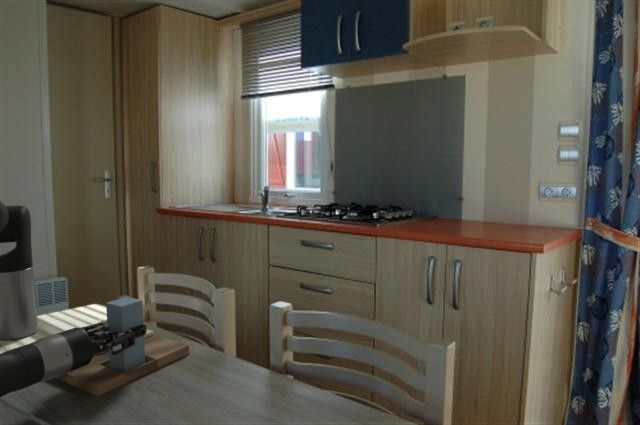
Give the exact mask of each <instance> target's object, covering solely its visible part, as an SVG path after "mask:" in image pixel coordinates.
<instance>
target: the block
mask: <svg viewBox="0 0 640 425" xmlns="http://www.w3.org/2000/svg"><path fill="white" fill-rule="evenodd" d="M105 305H106V308H105V309H106V323H107V326H108V331H111V330H116V329H117V330H119V331H123V330H127V329H130V328H133V327H136V326H139V325H142V324H144V310H143V307H144V306H143V299H138V298H134V297H132V298H130V297H125V298H121V299H118V300H117V299H114V300H111V301H108V302H106V303H105ZM124 335H125V334H124ZM121 336H123V335H121ZM121 336H120V337H121ZM113 339H115V334H114V335H113ZM109 361H110V369H113V370H116V371H119V372H122V373H125V372H127V371H129V370H131V369H134V368H136V367H138V366H140V365H143V364H145V345H144V335H143V336H141V337H138V338H135V345H133V346H131V347H130V348H128V349H126V350H124V351H122V352H120V353H119V354H117V355H112V351H111V350H109Z"/></svg>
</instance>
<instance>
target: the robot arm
mask: <svg viewBox="0 0 640 425" xmlns="http://www.w3.org/2000/svg"><path fill="white" fill-rule="evenodd" d="M31 219H32V218H31V214H30V210H29V209H28V207H27V206H25V205H5V203H3V202H2V201H1V200H0V244H4V243H16V244H15V247H14V248H12V249H11V250H10V251H8V252H6V253H3V254H1V255H0V340H8V341H9V340H15V339H16V340H17V339H21V338H25V337H28V336H29V337H30V336H31V335H33V334H36V333H37V332H38V330H39V327H38V315H37V303H36V302H37V299H36V289H35V288H36V287H35V277H34V276H35V275H34V266H33V265H34V264H33V252H32V249H33V248H32V220H31ZM104 324H105V325H104ZM146 329H147V325H146V324H144V323H143V324H142V325H139V326H136V327H133V328H130V329H127V330H123V331H119V330H117V329H116V330H111V331H108V326H107V324H106V323H104V322H99V323H94V324H90V325H86V326H83V327H79V326H78V327H73V328H69V329H66V330H63V331H60V332H57V333H53V334H50V335H47V336H44V337H41V338H39V339H36V340H35V341H32V342H30V343H27V344H24V345H21V346H17V347H15V348H11V349H9V350H6V351H3V352H1V353H0V398H3V397H4V396H7V394H10V393H14V392H18V391H20V390H23V389H26V388H28V387H29V388H30V387H31V386H34V385H36V384H39V383H42V382H46V381H49V380H52V379H55V378H56V377H58V376H61V375H63V374H66V373H68V372H71V371H73V370H76V369H78V368H81V367H83V366H86V365H88V364H89V363H90V362H91V360H92V358H93V356H94V355H95V354H96V353H103V352H105V351H107V350H111V351H112V355H117V354H119V353H120V352H122V351H124V350H126V349H128V348H130V347H131V346H133V345H135V338H138V337H141V336H143V335H145V334H146ZM114 334H115V339H113V335H114ZM124 334H125V335H124ZM121 335H123V336H121ZM120 336H121V337H120Z"/></svg>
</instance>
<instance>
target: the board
mask: <svg viewBox="0 0 640 425" xmlns="http://www.w3.org/2000/svg"><path fill="white" fill-rule="evenodd" d="M144 345H145V364H143V365H140V366H138V367H136V368H134V369H131V370H129V371H127V372H125V373H122V372H119V371H116V370H113V369H110V361H109V350H107V351H105V352H103V353H96V354H95V355H94V356H93V358H92V360H91V362H90V363H89V364H88V365H86V366H83V367H81V368H78V369H76V370H73V371H71V372H68V373H66V374H63V375H61V376H58V377H56V378H54V379H56V380H58V381H60V382H63V383H65V384H66V385H70V386H73V387H75V388H77V389H79V390H82V391H84V392H87V393H89V394H92V395H95V396H96V397H99V396H101V395H104V394H106V393H108V392H110V391H112V390H114V389H117V388H119V387H121V386H123V385H126V384H127V383H130V382H131V381H134V380H136V379H138V378H140V377H142V376H145V375H146V374H149V373H150V372H152V371H155V370H157V369H159V368H161V367H164V366H165V365H168V364H170V363H172V362H175V361H177V360H178V359H180V358H183V357H185V356H188V355H190V345H189V344H187V343H183V342H179V341H176V340H173V339H170V338H166V337H162V336H158V335H155V334H154V335H152V336H149V337H147V338H144Z"/></svg>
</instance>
